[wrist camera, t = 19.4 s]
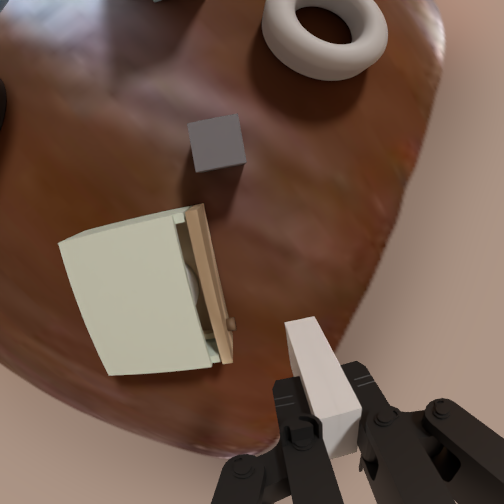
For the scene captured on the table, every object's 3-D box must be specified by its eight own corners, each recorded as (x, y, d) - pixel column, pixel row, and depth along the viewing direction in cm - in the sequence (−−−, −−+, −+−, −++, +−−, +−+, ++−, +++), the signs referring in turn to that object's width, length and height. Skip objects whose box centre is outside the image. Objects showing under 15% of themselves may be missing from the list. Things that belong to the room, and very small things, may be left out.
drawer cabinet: (124, 347, 39) (108, 375, 32) (85, 230, 34) (58, 243, 27) (222, 335, 39) (220, 365, 32) (191, 205, 34) (181, 213, 28)
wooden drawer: (131, 347, 39) (117, 373, 32) (92, 229, 34) (67, 240, 28) (239, 333, 39) (241, 361, 33) (211, 201, 34) (206, 207, 28)
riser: (202, 172, 33) (195, 172, 28) (195, 131, 32) (187, 123, 26) (244, 164, 33) (246, 162, 28) (237, 123, 32) (237, 113, 26)
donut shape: (332, 105, 32) (352, 93, 26) (236, 37, 29) (237, 12, 23) (387, 40, 30) (410, 24, 23) (303, -21, 26) (313, -47, 20)
